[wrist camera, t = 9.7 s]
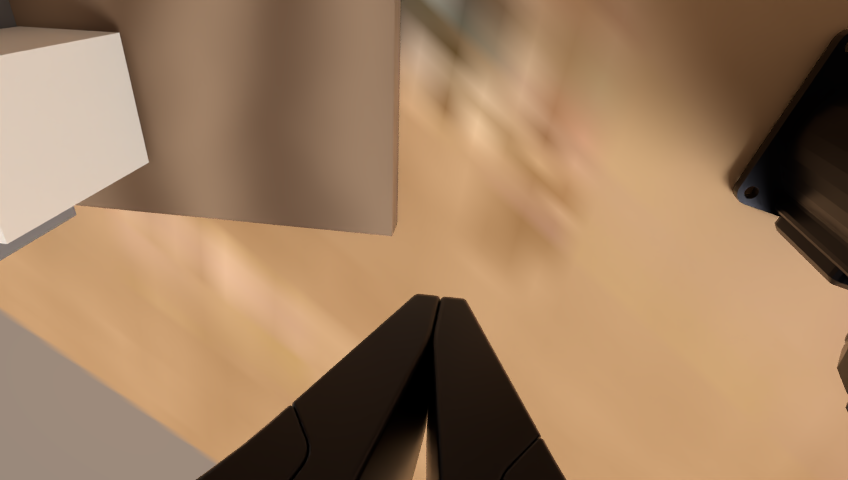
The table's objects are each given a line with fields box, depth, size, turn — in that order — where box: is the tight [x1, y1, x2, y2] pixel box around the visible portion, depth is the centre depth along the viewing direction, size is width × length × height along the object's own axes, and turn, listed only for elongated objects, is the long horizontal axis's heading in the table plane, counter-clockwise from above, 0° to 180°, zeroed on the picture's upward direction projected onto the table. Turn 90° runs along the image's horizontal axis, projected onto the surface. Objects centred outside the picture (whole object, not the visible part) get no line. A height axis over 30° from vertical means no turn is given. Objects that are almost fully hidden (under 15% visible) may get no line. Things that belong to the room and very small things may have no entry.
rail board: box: [9, 0, 401, 236], centre depth 21 cm, size 20×10×1 cm, turn 88°
